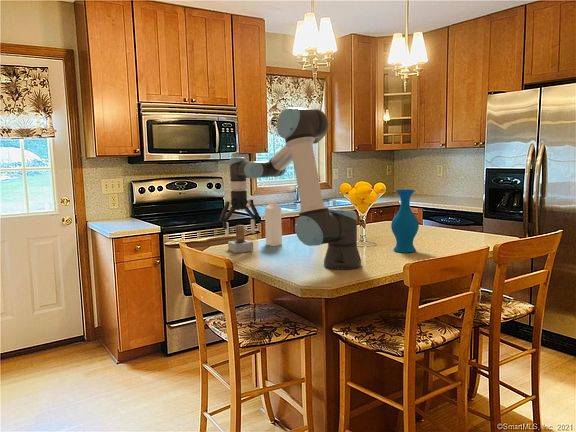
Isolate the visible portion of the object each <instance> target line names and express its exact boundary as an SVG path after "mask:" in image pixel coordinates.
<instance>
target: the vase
mask: <svg viewBox="0 0 576 432" xmlns="http://www.w3.org/2000/svg"><path fill="white" fill-rule="evenodd" d="M415 191H416V190H414V189H397V190H395V192H396V193H397V194H398V196H399V198H400V207H399V209H398V211H397V213H396V214H395V215H394V217H393V219H392V220H391V224H390V225H391V226H390V227H391V231H392V234H393V236H394V238H395V240H396V244H395V246H394V248H393V251H394V252H396V253H405V254H407V253H413V252H416V250H417V249H416V247H415V246H414V239H415V237H416V235H417V234H418V231H419V224H420V223H419V221H418V218H417V216H415V214H414V213H413V210H412V209H411V205H410V204H411V203H410V202H411V198H412V195H413V194H414V193H415Z"/></svg>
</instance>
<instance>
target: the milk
mask: <svg viewBox="0 0 576 432" xmlns="http://www.w3.org/2000/svg"><path fill="white" fill-rule="evenodd" d="M264 218H265V219H264V221H265V222H264V223H265V224H264V225H265V245H266V246H269V245H270V247H277V246H282V245H283V231H282V230H283V227H282V224H283V223H282V207H281V206H279V205H277V201H271V200H270V201H269V204H268V205H267V206H266V207H264Z"/></svg>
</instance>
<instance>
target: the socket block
mask: <svg viewBox="0 0 576 432" xmlns="http://www.w3.org/2000/svg"><path fill="white" fill-rule="evenodd" d="M227 243H228V244H227V248H228V249H227V250H228V251H230V252H232V253H233V252H234V254H235V253H236V254H238V253H246V252H253V251H254V242H253V241H251V240H247V239H245V243H238V244H237V243H236V240H231V241H227Z"/></svg>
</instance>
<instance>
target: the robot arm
mask: <svg viewBox="0 0 576 432" xmlns="http://www.w3.org/2000/svg"><path fill="white" fill-rule="evenodd" d="M329 122H330V121H329V118H328V116H327V115H326V113H325V112H324V111H322V110H320V109H319V108H306V107H297V106H295V107H294V106H293V107H287V108H284V109H283V110H281V111H280V113H279V115H278V118H277V120H276V132H277V134H278V136H279V138H282V139H284V140H285V145H284V146H283V147H282V148H281V149H280V150H279V151H278V152H276V153H275V155H273V156H272V157H271V159H269V160H261V161H259V160H258V161H247V159H246V158H245V157H243V156H242V157H240V156H239V157H230V158H229V177H230V190H231V191H230V198H231V199H230V200H225V201H224V207H223V208H222V211H221V214H220V215H219V219H218V221H220V222H221V223H222V227H223V230H224V235H225V236H226V237H230V229H229V228H230V227H229V226H230V225H229V224H230V223H229V222H228V220H229V219H230V218H231V216H232V215H233V213H235V211H240V210H241V211H242V210H244V211H245V212H246V213H247V214H248V215H249V216H250V233H251V234H255V233H256V227H257V220H258V219H260V214H259V212H258V209H257V208H256V206H255V204H254V200H253V199H251V198H249V199H248V191H247V190H248V189H247V179H251V180H253V179H260V178H261V179H262V178H279V177H283V176H284V174H285V173H286V171H287V167H288V166H289V165H290V164H291V163H292V164H293V169H294V173H295V180H296V186H297V190H298V195H299V202H300V205H301V206H300V207H301V209H300V210H299V212H298V216H299V217H298V218H297V219H296V221H295V225H294V230H295V234H296V236H297V238H298V240H299V241H300V242H302V244H304V245H305V246H308V247H312V246H313V247H315V246H320V245H324V244H327V249H326V253H325V256H324V259H323V266H324V267H325V268H327V269H333V270H354V269H355V270H356V269H358V268H361V267H362V259H361V256H360V252H359V250H358V246H357V245H358V241H357V240H358V218H357V217H358V216H357V215H358V214H357V213H356V211H355V210H352V209H351V210H350V209H344V208H342V209H341V208H329V207H328V206H327V205H325V204H324V199H323V195H322V189H321V184H320V178H319V174H318V168H317V163H316V158H315V152H314V146H313V145H314V144H315V145H316V144H318V143H319V142H320V141H322V139H323V138H324V137H325V136H326V135H327V133H328V131H329V128H330V127H329V126H330V123H329ZM247 204H248V205H249V206H250V209H249V207H248V206H247ZM230 206H231V207H230ZM229 207H230V209H229ZM228 210H229V211H228ZM251 210H252V211H251Z"/></svg>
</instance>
